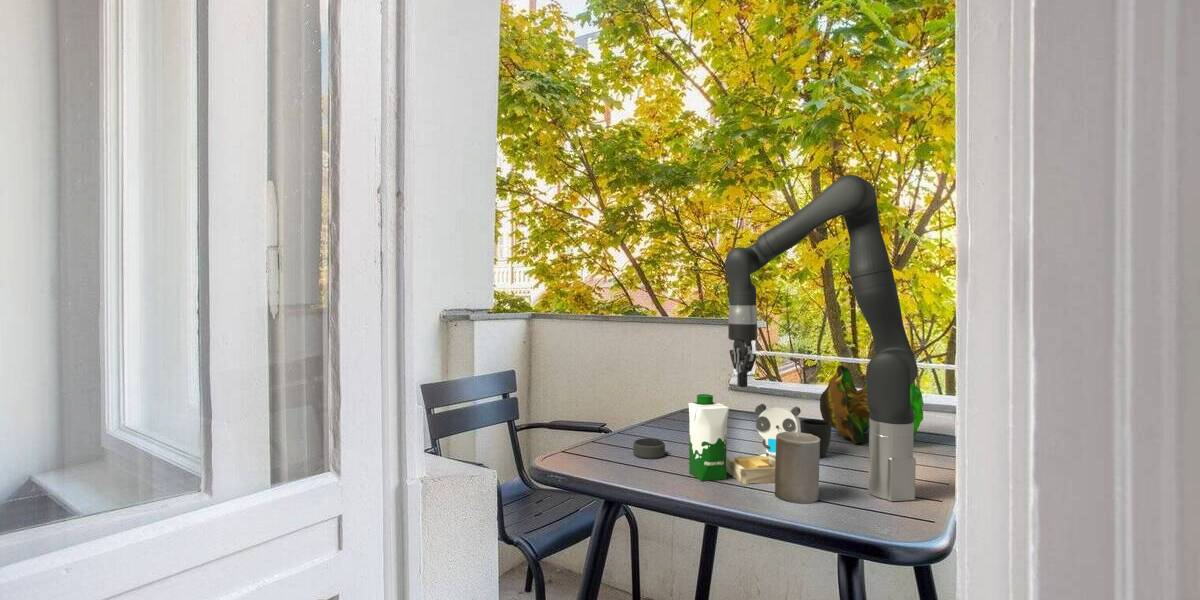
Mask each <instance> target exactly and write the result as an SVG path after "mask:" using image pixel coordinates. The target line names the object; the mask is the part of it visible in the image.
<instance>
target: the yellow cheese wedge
mask: <svg viewBox="0 0 1200 600" xmlns="http://www.w3.org/2000/svg"><path fill="white" fill-rule="evenodd" d="M733 460H734V461H735V462H737V463H738V464H739V465H741V466H742V467H743V468H745V469H746V468H768V467H769V459H768V458H766V457H764V456H760V455H755V456H754V455H753V456H735V457H734V458H733Z"/></svg>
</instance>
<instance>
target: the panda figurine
mask: <svg viewBox="0 0 1200 600" xmlns="http://www.w3.org/2000/svg"><path fill="white" fill-rule="evenodd" d="M801 411H802V410H801V408H800V407H799V406H794V407H793V408H790V407H787V406H783V405H773V406H769V407H767V406H766V404H765V403H761V404H759V405H758V406H756V407H755V409H754V412H755V414H756V416H757V415H758V418H757V419H756V423H755V426H756V427H755V428H756V430H757V432H758V434H759V436H761V438H762V439H763V440H762V443H761V444H762V445H763V447H764V448H765V454H764V453H763V454H760V455H759V456H764V457H766V456H771V457H772V458H774V459H775V458H776V435H777V434H778V433H782V432H797V431H798V432H799V431H800V427H801V425H800V418H799V415H800V414H801Z"/></svg>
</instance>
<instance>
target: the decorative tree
mask: <svg viewBox="0 0 1200 600" xmlns="http://www.w3.org/2000/svg"><path fill="white" fill-rule="evenodd" d="M866 375H867V372H866ZM865 382H866V383H865V385H864V387H863V388H860V389H859V390H858V389H857V388H856V386H855V384H854V380H853V375H852V373H851V370H850V369H849V368H848V367H845V366H844V365H842V364H838V365H837V367H836V372H835V374H834V375H833V376H832V377H831V378H830V379H829V380H828V385H827V387H826V388H825V389H824V391H823V392H822V393H821V394H820V398H819V411H820V414H821V418H822V420H824V421H828V422H830V423H831V428H834V429H835V430H837V432H838V434H839V436H840V437H848V438H850V440H852V442H853V444H854V445H857V444H861V443H864V442H865V439H866V437H865V433H866V432H867V431H869V430H868V429H869V408H868V405H867V378H866V379H865ZM920 389H921V388H919V387H918V386H916V381H914V382H913V383H912V384H911V385H910V402H911V407H912V409H913V411H914V434H913V438H915V436H916V435H917V432H918V429H919V427H920V425H921V423H922V421H923V420H924V418H925V417H924V412H923V411H924V410H923V407H924V398H923V393H922V391H921V390H920Z"/></svg>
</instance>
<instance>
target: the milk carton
mask: <svg viewBox="0 0 1200 600" xmlns="http://www.w3.org/2000/svg"><path fill="white" fill-rule="evenodd" d="M729 410H730V407H729V406H727V405H725V404H722V403H719V402H716V401H714V395H712V394H708V393H707V394H706V393H699V394H697V395H696V401H693V402H688V414H689V415H688V417H689V440H688V441H689V442H688V443H689V447H688V449H689V450H688V451H689V452H688V455H689V456H688V459H689V460H688V461H689V462H688V468H689V469H688V471H689V474H690V475H692V476H693V477H695V478H696V479H698V480H699V482H705V481H706V482H708V481H718V480H719V481H720V479H721V480H727V476H728V475H727V474H728V472H727V469H726V458H727V443H728V441H727V439H728V438H727V437H728V433H727V432H728V430H727V429H728V428H727V427H728V424H727V423H728V417H729Z"/></svg>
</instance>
